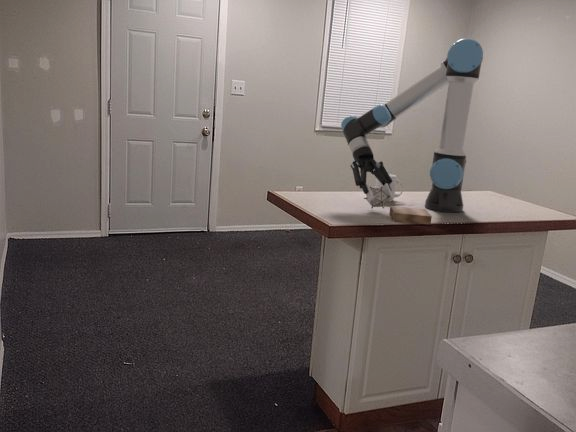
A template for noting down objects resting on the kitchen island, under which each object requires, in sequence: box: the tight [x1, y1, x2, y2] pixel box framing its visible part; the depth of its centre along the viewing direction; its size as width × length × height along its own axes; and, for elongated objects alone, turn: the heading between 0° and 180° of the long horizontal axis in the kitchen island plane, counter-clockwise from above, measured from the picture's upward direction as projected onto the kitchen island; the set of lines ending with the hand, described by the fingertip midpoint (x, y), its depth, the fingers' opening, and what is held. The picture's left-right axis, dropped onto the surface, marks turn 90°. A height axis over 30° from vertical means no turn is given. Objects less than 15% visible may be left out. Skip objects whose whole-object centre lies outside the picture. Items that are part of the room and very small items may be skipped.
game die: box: [363, 186, 390, 210], centre depth 198 cm, size 9×8×10 cm
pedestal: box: [388, 205, 433, 225], centre depth 192 cm, size 13×12×3 cm
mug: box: [374, 173, 404, 202], centre depth 224 cm, size 9×12×11 cm
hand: (381, 199), depth 195 cm, fingers closed on game die, 8 cm apart
